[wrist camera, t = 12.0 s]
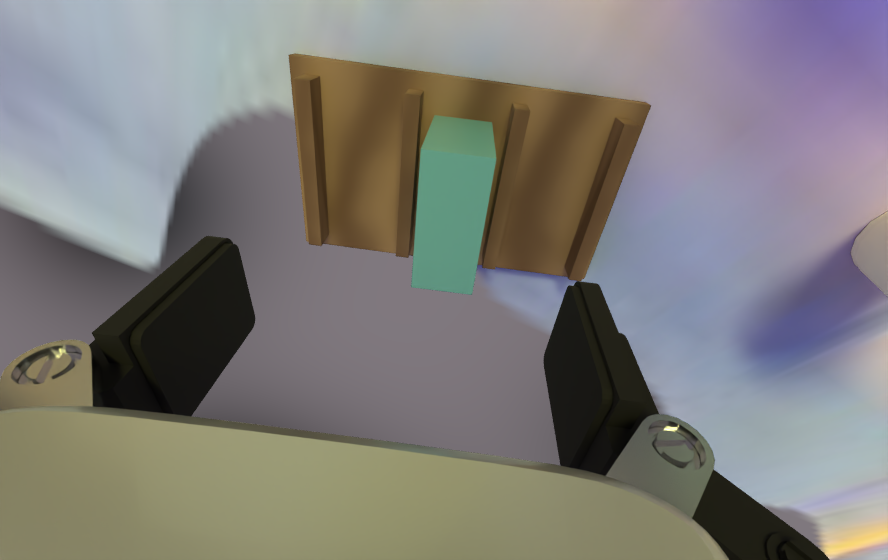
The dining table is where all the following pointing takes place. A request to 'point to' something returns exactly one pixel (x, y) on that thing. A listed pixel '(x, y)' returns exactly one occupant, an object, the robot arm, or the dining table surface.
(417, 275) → the block
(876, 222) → the foam cup
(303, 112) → the rack
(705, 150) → the dining table surface
